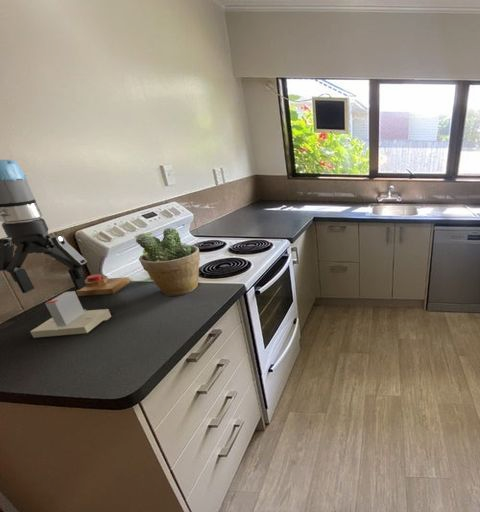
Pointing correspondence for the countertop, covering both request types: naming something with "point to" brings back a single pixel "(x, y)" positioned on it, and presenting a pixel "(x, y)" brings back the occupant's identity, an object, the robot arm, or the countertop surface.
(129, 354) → the countertop surface
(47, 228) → the robot arm
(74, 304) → the white rectangular box
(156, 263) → the potted plant
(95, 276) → the button
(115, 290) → the button block
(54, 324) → the plate
